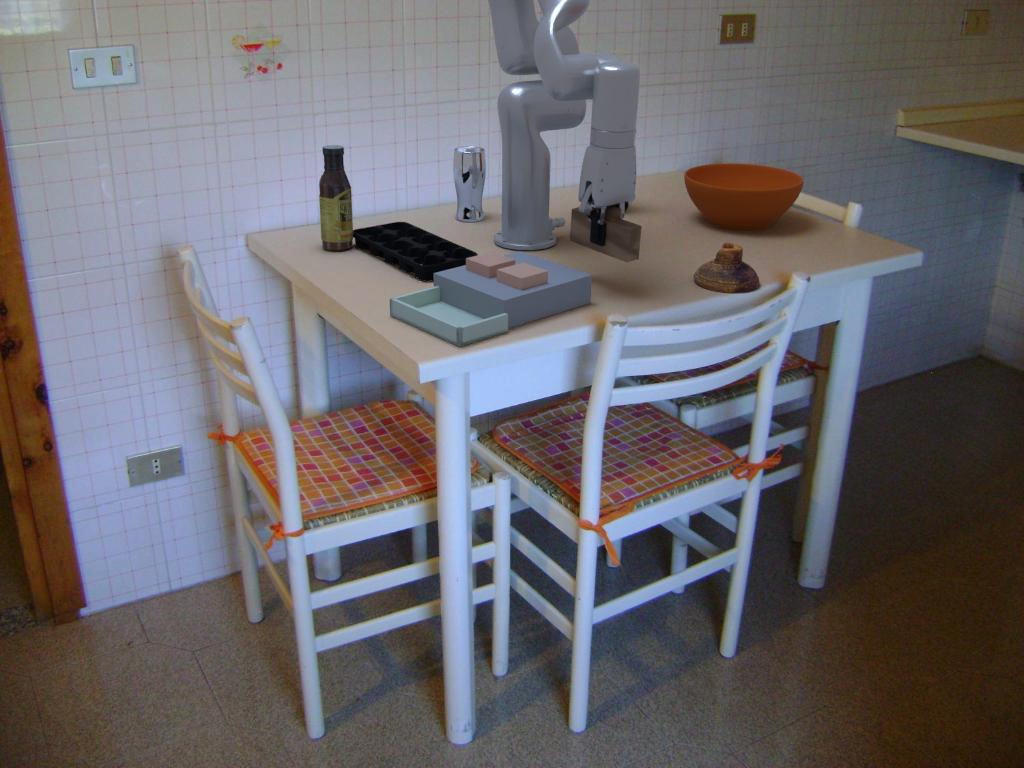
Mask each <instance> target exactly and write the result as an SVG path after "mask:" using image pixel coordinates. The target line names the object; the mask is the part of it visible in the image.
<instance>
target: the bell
mask: <svg viewBox="0 0 1024 768" xmlns="http://www.w3.org/2000/svg"><path fill="white" fill-rule="evenodd" d="M743 250H744V249H743V247H742V245H739V244H736V243H732V242H724V243H723V244H722V245H721V248H720V249H718V250H717V253H716V255H715V258H713V259H711V260H709V261H707V262H705V263H703V264H702V265H700V266H699V267H698V268H697V269H696V270H695V272H694V274H693V281H694V283H695V284H696V285H698V286H699V287H701V288H703V289H706V290H709V291H714V292H719V293H725V294H736V293H749V292H753V291H755V290H756V289H758V287H759V286H760V277H759V275H758V274H757V272H756V270H755V269H754V268H753V267H752V266H751V265H750V264H748V263H746V262H744V261H743V252H744V251H743Z"/></svg>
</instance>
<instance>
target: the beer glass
mask: <svg viewBox="0 0 1024 768" xmlns="http://www.w3.org/2000/svg"><path fill="white" fill-rule="evenodd" d="M452 166H453V168H452V169H453V170H452V171H453V175H452V176H453V183H454V186H455V187H454V188H455V192H456V193H455V194H456V198H457V199H456V200H457V206H456V207H457V208H456V213H455V219H456V220H457V221H459V222H463V221H464V222H463V223H475V222H476V221H477V222H481V221H483V220H484V218H485V217H484V215H485V214H484V210H483V195H484V189H485V183H486V173H487V163H486V149H485V148H483V147H479V146H472V145H471V146H470V145H469V146H467V145H465V146H458V147H455V148H454V149H453V163H452Z"/></svg>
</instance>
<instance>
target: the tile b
mask: <svg viewBox="0 0 1024 768" xmlns="http://www.w3.org/2000/svg"><path fill="white" fill-rule="evenodd" d="M497 281H498V282H501V283H503V284H506V285H509V286H511V287H514V288H517V289H519V290H523V289H527V288H530V287H534V286H537V285H541V284H544V283H548V271H546V270H544V269H541V268H538V267H535V266H532V265H529V264H526V263H520V264H516V265H512V266H508V267H505V268H501V269H497Z"/></svg>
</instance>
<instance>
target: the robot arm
mask: <svg viewBox="0 0 1024 768" xmlns="http://www.w3.org/2000/svg"><path fill="white" fill-rule="evenodd" d="M537 1H538V4H539V7H540V9H541V12H542V17H541V18H540V20H539V19H538V18H537V14H536V7H535V6H536V5H535V1H534V0H487V2H488V5H489V11H490V17H491V18H490V19H491V24H492V30H493V37H494V42H495V43H494V45H495V51H496V54H497V59H498V64H499V67H500V68H501V70H502V71H503V72H504V73H505V74H508V75H511V76H532V75H533V76H534V75H539V76H540V79H538V80H537V79H535V80H522V81H517V82H513V83H510V84H508V85H506V86H505V87H504V88H502V90H500V93H499V95H498V97H497V103H496V104H497V115H498V120H499V125H500V134H501V154H502V155H501V156H502V157H501V158H502V159H501V166H502V167H501V171H502V172H501V230H500V231H497V232H496V233H495V234H493V243H494V244H496V245H497V246H498V247H501V248H505V249H507V250H515V251H536V250H544V249H548V248H550V247H553V246H554V245H556V243H557V236H556V234H554V233H553V231H554V230H555V229H556V228H557V229H558V228H562V227H565V225H566V219H565V217H563V216H560V217H557V218H554V219H553V218H552V217H550V191H551V190H550V187H551V152H550V149H549V148H548V146H547V144H546V143H545V141H544V140H543V138H542V136H541V134H540V133H542V132H548V131H558V130H559V131H560V130H569V129H573V128H577V127H578V126H580V125H581V124H582V123H583V121H584V120H585V118H586V112H587V100H590V101H591V100H592V105H591V106H592V107H591V119H590V120H591V121H590V137H589V146H586V148H585V152H584V155H583V159H582V165H581V170H580V177H579V184H578V186H579V187H578V201H579V202H580V205H579V211H580V212H582V213H584V214H586V215H587V216H588V219H589V221H591V231H590V242H591V243H594V244H597V245H599V246H604V245H605V238H606V224H604V221H605V214H606V207H607V206H611V205H612V206H615V205H616V206H615V207H618V208H621V219H623V220H624V218H625V213H626V212H627V211H626V209H627V208H628V209H629V207H628V206H630V205H631V204H632V203H633V202H634V201H635V200H636V195H635V192H636V187H637V186H636V183H637V150H636V145H635V140H636V134H637V130H636V127H637V117H638V116H637V115H638V104H639V94H640V93H639V92H640V83H641V82H640V80H641V71H640V68H639V67H638V66H637V64H635V63H632V62H630V61H629V62H628V61H624V60H622V59H621V58H620V57H619V56H617V55H615V54H612V53H608V52H607V53H604V52H603V53H602V52H601V53H580V49H579V44H578V40H577V39H578V38H577V36H576V35H575V33H574V32H573V30H572V29H571V28H570V27H569V25H571V24H573V23H574V22H576V21H577V20H578V19H581V17H583V15H584V14H585V13H586V11H587V10H588V8H589V5H590V0H537ZM596 209H599V214H598V213H597V211H596Z"/></svg>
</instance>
